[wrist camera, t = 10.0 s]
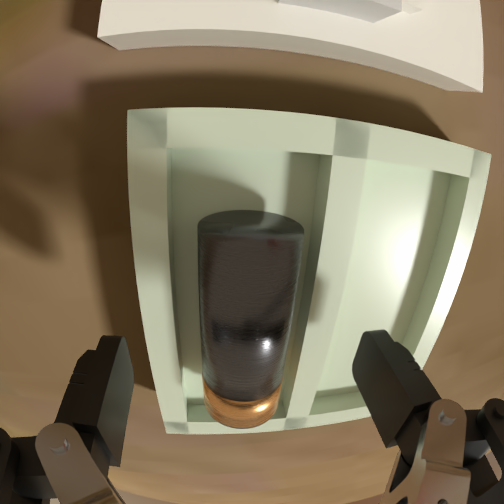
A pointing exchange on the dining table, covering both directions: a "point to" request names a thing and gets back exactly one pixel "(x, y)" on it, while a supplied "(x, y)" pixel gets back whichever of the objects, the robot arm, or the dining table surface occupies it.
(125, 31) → the white battery holder
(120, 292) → the dining table surface
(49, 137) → the dining table surface
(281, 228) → the cell
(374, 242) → the tray
